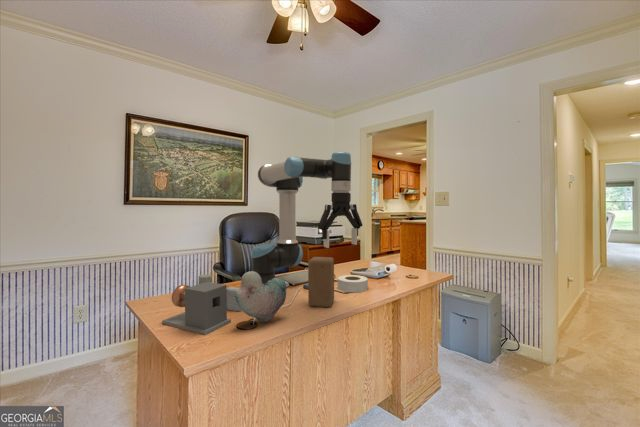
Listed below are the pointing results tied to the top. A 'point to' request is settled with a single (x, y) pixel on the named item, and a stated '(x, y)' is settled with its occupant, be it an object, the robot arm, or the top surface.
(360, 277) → the roll of tape
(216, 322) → the bearing block
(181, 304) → the orange rounded long piece
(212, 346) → the top surface
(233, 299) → the medicine box
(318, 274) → the wooden block
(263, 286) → the grey rounded bird shape
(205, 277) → the air freshener
